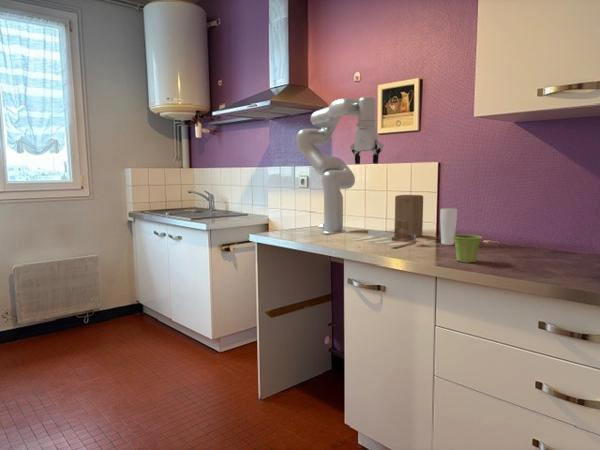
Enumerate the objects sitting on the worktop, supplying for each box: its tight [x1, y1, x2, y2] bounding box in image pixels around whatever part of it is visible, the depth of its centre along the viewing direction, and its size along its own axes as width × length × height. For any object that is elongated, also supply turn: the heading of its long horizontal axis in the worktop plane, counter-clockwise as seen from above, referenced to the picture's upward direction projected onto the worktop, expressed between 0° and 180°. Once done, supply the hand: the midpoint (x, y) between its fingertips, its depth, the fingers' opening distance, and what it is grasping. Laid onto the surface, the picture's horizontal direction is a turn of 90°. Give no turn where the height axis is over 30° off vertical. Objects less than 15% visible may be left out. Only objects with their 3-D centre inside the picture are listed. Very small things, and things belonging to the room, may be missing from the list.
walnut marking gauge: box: [392, 220, 410, 242], centre depth 186 cm, size 6×5×8 cm
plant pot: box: [452, 234, 483, 264], centre depth 150 cm, size 9×9×9 cm
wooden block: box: [394, 194, 424, 238], centre depth 200 cm, size 10×10×20 cm
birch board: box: [349, 229, 417, 250], centre depth 188 cm, size 23×16×4 cm
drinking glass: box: [439, 207, 458, 246], centre depth 185 cm, size 7×7×15 cm
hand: (366, 163), depth 200 cm, fingers open, 9 cm apart
